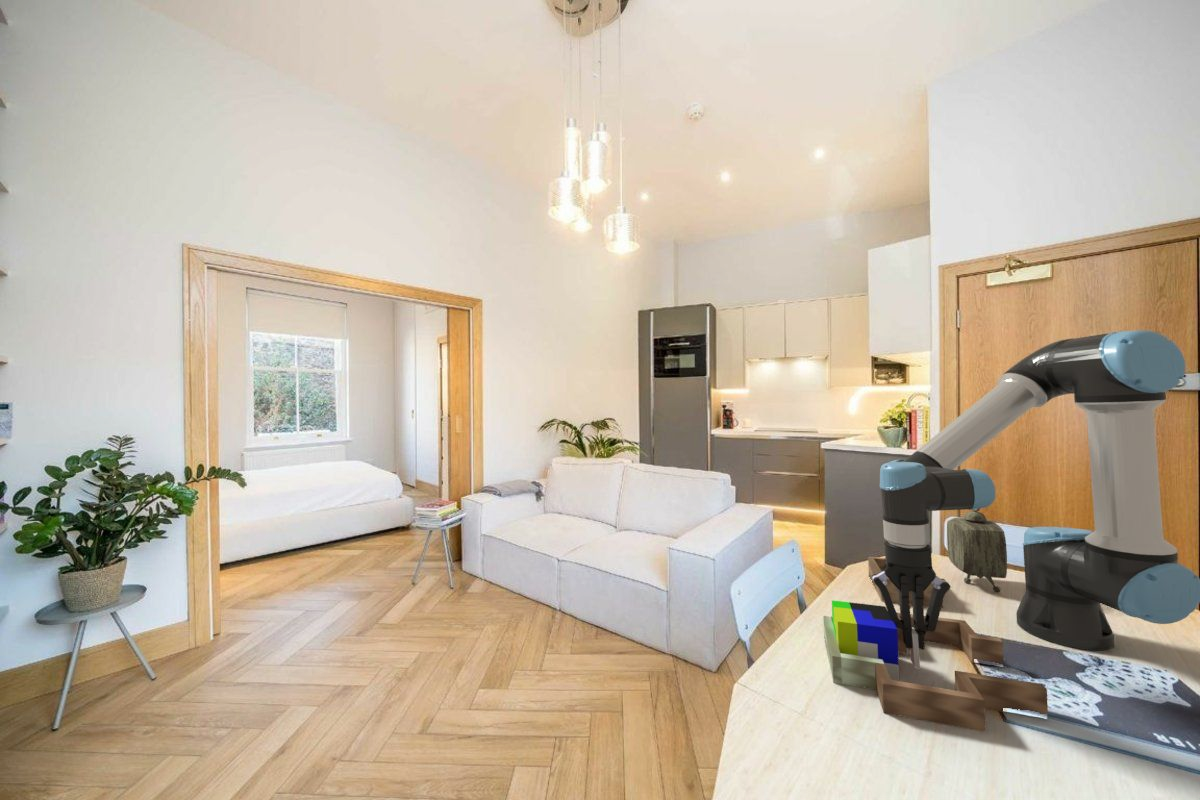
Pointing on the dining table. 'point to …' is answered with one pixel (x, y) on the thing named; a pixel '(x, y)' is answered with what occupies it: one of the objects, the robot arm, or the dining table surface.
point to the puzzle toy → (866, 633)
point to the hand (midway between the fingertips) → (915, 664)
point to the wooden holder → (877, 567)
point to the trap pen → (934, 702)
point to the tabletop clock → (977, 547)
